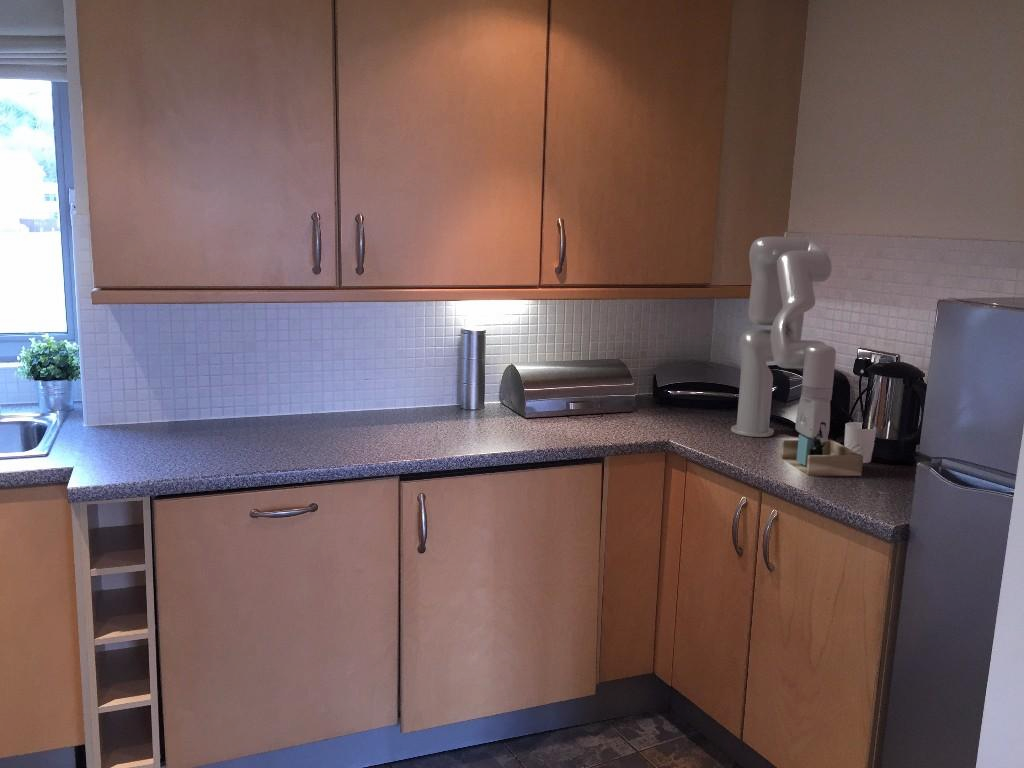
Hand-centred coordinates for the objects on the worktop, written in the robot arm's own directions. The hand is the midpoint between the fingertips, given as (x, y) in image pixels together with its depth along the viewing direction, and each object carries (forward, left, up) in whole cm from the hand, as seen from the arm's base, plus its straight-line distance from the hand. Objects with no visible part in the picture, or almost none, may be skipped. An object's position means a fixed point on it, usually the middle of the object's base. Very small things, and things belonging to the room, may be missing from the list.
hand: (810, 460), depth 229 cm
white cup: (-6, +17, -2) cm, 18 cm away
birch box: (0, +3, -2) cm, 3 cm away
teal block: (0, 0, -1) cm, 1 cm away
